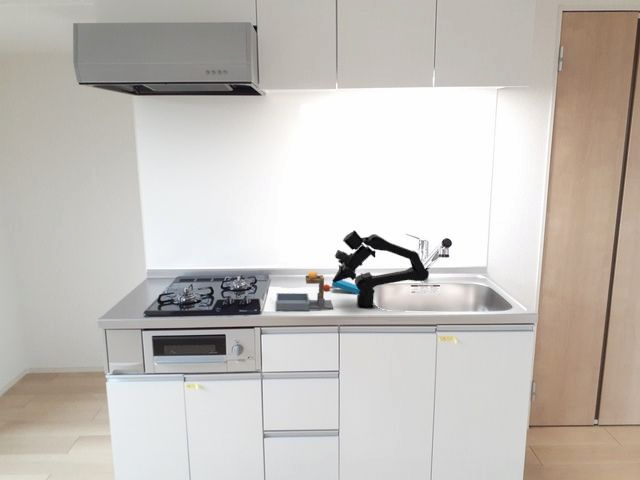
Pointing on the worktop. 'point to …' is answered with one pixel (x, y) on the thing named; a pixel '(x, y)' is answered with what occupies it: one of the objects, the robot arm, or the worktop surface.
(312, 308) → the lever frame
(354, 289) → the lever
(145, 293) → the worktop surface
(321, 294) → the brown wooden angled piece
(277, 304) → the bin
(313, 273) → the ball
